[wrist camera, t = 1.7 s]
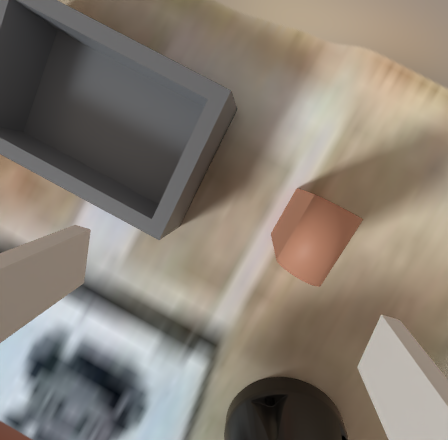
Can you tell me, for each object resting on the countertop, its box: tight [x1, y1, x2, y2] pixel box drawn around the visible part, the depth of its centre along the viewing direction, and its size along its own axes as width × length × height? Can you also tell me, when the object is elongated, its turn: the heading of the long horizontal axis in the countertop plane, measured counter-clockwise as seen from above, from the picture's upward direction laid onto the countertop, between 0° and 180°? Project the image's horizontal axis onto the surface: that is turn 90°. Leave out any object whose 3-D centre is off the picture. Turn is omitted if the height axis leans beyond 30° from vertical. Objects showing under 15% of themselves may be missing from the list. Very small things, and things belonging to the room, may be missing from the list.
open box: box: [0, 0, 237, 240], centre depth 29 cm, size 23×15×7 cm, turn 63°
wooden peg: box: [271, 188, 363, 286], centre depth 26 cm, size 4×6×12 cm, turn 153°
